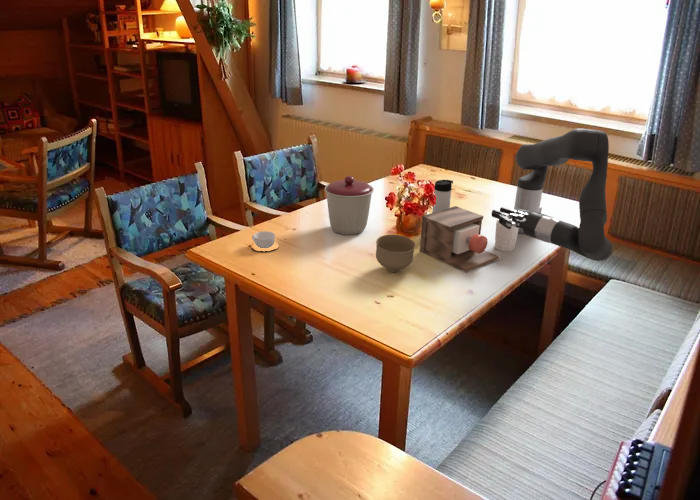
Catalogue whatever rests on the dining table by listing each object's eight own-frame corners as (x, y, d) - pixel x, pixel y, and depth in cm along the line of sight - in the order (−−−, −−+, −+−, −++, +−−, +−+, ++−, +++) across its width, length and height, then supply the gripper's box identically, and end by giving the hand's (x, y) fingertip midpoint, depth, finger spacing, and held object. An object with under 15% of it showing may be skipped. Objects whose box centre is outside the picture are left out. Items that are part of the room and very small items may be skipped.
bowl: (387, 281, 181) (389, 252, 177) (367, 265, 191) (368, 237, 187) (421, 274, 187) (423, 245, 183) (400, 259, 197) (401, 231, 193)
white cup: (516, 245, 210) (520, 219, 205) (514, 253, 203) (518, 227, 199) (494, 242, 212) (497, 216, 208) (491, 250, 205) (495, 224, 201)
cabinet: (498, 259, 198) (503, 223, 193) (466, 272, 188) (470, 235, 183) (452, 240, 213) (455, 206, 207) (419, 251, 203) (422, 216, 198)
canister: (316, 234, 215) (316, 179, 207) (335, 218, 231) (336, 167, 222) (361, 242, 209) (363, 186, 201) (378, 225, 224) (381, 173, 216)
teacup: (284, 245, 206) (284, 233, 204) (268, 255, 198) (268, 242, 196) (260, 240, 210) (260, 228, 208) (244, 249, 202) (243, 237, 200)
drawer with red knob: (489, 252, 196) (492, 230, 193) (470, 259, 190) (473, 237, 187) (461, 240, 205) (463, 219, 201) (442, 247, 199) (444, 225, 196)
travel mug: (447, 234, 217) (452, 183, 209) (430, 233, 218) (434, 182, 210) (448, 228, 223) (453, 178, 215) (431, 227, 224) (435, 177, 216)
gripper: (559, 211, 174) (511, 196, 186) (531, 221, 165) (483, 204, 178) (555, 234, 177) (508, 217, 189) (527, 245, 169) (480, 227, 181)
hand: (496, 211), depth 183 cm, fingers open, 3 cm apart
